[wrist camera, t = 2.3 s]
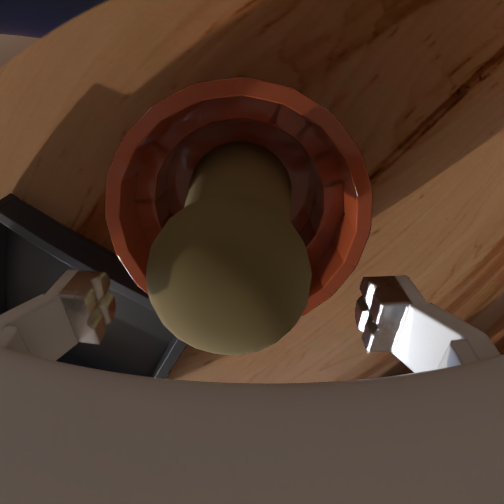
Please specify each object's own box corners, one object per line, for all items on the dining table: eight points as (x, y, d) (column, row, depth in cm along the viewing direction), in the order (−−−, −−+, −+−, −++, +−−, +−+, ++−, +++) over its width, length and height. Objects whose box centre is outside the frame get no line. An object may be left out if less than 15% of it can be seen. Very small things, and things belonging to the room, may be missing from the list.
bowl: (113, 226, 19) (79, 264, 15) (198, 48, 14) (178, 30, 10) (273, 307, 22) (277, 357, 18) (382, 159, 17) (420, 182, 13)
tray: (3, 309, 24) (-10, 324, 21) (10, 193, 18) (-10, 205, 16) (149, 390, 28) (144, 411, 25) (206, 299, 22) (201, 323, 20)
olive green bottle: (311, 173, 17) (379, 274, 8) (259, 254, 20) (263, 400, 10) (218, 122, 16) (163, 159, 6) (173, 211, 19) (100, 335, 9)
